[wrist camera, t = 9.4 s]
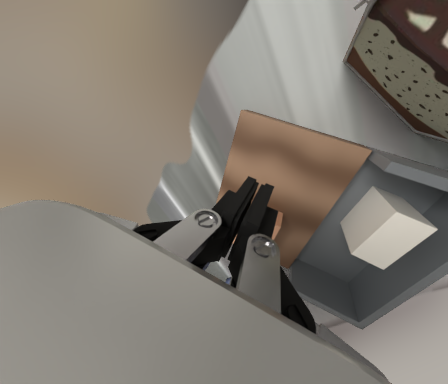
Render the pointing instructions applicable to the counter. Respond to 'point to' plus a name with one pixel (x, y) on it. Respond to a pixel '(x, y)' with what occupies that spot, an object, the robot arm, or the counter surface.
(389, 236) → the cream tile
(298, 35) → the counter surface
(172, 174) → the counter surface
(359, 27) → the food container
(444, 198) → the tray
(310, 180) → the walnut board
